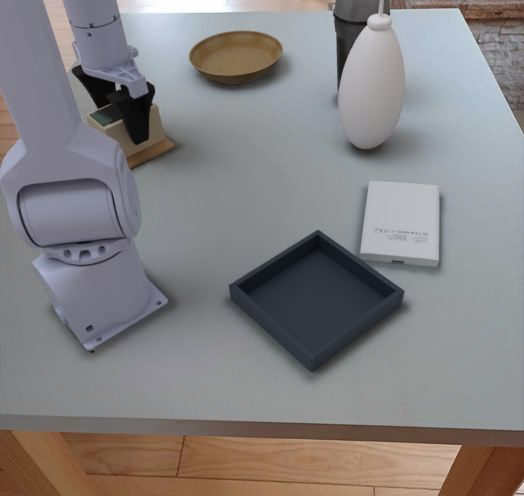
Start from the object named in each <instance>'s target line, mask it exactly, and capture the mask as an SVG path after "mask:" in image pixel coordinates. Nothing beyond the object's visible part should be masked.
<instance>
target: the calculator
mask: <svg viewBox="0 0 524 496" xmlns="http://www.w3.org/2000/svg"><path fill="white" fill-rule="evenodd" d="M85 116H86V120H87V123H88V125H89V126H91V127H93V128H95V129H96V130H98V131H100V132H102V133H104V134H106V135H108V136H109V137H111V138H113V139H114V140H116V141H117V142H118V143H119V145H120V148H121V149H122V150H123V151H124V155H125V158H127V157H129V156H132V155H134V154H136V153H138V152H140V151H142V150H144V149H146V148H148V147H150V146H152V145H155V144H157V143H159V142H161V141H163V140H165V137H166V136H165V132H164V127H163V123H162V118H161V114H160V110H159V105H158V104H157V103H154V102H153V101H152V104H151V109H150V117H149V140H147V141H145V142H143V143H141V144H139V145H135V144H134V143H133V142H132V140H131V139H130V137H129V135H128V132H127V130H126V127H125V125H124V122H123V120H122V118H121V116H120V115H119V113H118V111H117V110H116V109H115V107H114V106H113V105H112V104H109V105H107V106H105V107H102V108H100V109H95V110H93V111H91V112H89V113H86V114H85Z"/></svg>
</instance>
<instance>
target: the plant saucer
mask: <svg viewBox="0 0 524 496" xmlns="http://www.w3.org/2000/svg"><path fill="white" fill-rule="evenodd" d="M283 52H284V47H283V44H282V43H281V41H280V40H279V39H278V38H276V37H275V36H273V35H271V34H268V33H264V32H261V31H256V30H231V31H225V32H219V33H216V34H212V35H210V36H207V37H205V38H203V39H201V40H200V41H199V42H197V43H196V44H195V45H193V46H192V47H191V49H190V51H189V52H188V60H189V63H190V64H191V65H192V66H193V68H195V70H196V71H197V72H198V73H200V74H201V75H202V76H204V77H205V78H207V79H208V80H211V81H212V82H215V83H218V84H224V85H241V84H247V83H252V82H254V81H257V80H259V79H261V78H262V77H264V76H265V75H267V74H268V73H269V72H270V71H271V70H272V69H273V68H274V67H275V65H276V64H277V63H278V62H279V60H280V59H281V57H282V55H283Z"/></svg>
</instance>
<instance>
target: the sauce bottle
mask: <svg viewBox="0 0 524 496" xmlns="http://www.w3.org/2000/svg"><path fill="white" fill-rule="evenodd" d="M383 5H384V0H380V4H379V11H378V14H374V15H371V16H370V17H369V18H368V20H367V26H366V27H365V28H364V29H363V30H362V32H361V33H360V34H359V36H358V38H357V39H356V41H355V43H354V44H353V46H352V49H351V51H350V53H349V55H348V58H347V60H346V63H345V66H344V69H343V73H342V77H341V81H340V86H339V93H338V92H337V111H338V118H339V123H340V126H341V129H342V132H343V134H344V137H346V139H347V141H348V142H349V143H351V144H352V145H353V146H354V147H356V148H358V149H361V150H371V149H374V148H376V147H378V146H379V145H382V144H383V143H385V142H386V141H387V140H388V138H389V137H390V136H391V135H392V133H393V131H394V130H395V129H396V126H397V124H398V122H399V120H400V118H401V114H402V111H403V108H404V107H403V106H404V102H405V101H404V100H405V91H406V70H405V61H404V57H403V52H402V49H401V45H400V41H399V39H398V36H397V34H396V32H395V30H394V29H393V27H392V25H393V24H392V23H393V19H392V17H391V16H389V15H387V14H383Z"/></svg>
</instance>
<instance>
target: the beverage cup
mask: <svg viewBox="0 0 524 496" xmlns="http://www.w3.org/2000/svg"><path fill="white" fill-rule="evenodd" d="M379 4H380V0H335V1H334V8H333V10H332V16H333V23H334V25H333V26H334V32H335V39H336V40H335V41H336V43H335V45H336V86H337V87H336V89H337V90H336V91H337V94H338V93H339V86H340V81H341V77H342V73H343V69H344V66H345V63H346V60H347V58H348V55H349V53H350V51H351V49H352V46H353V44H354V43H355V41H356V39H357V38H358V36H359V34H360V33H361V32H362V30H363V29H364V28H365V27H366V26H367V20H368V18H369V17H370V16H371V15H374V14H378V11H379ZM390 6H391V5H390V0H384V5H383V14H387V15H389V16H390V15H391V9H390V8H391V7H390ZM390 17H391V16H390Z"/></svg>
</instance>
